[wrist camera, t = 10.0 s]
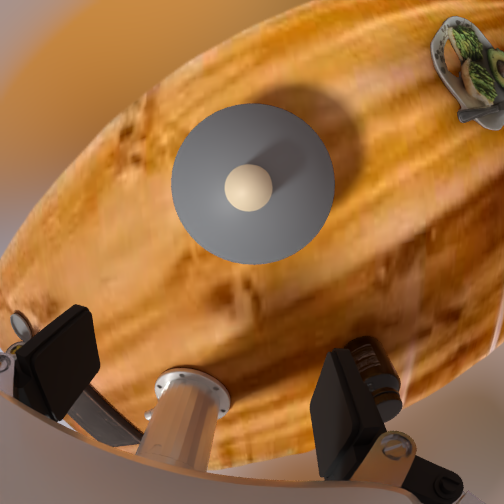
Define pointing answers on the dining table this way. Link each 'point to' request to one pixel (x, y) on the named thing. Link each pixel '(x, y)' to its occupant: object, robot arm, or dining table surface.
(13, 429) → the robot arm
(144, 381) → the dining table surface
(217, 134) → the lid
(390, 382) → the supplement bottle
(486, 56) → the salad plate
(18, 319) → the pocket watch
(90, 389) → the hardcover book
